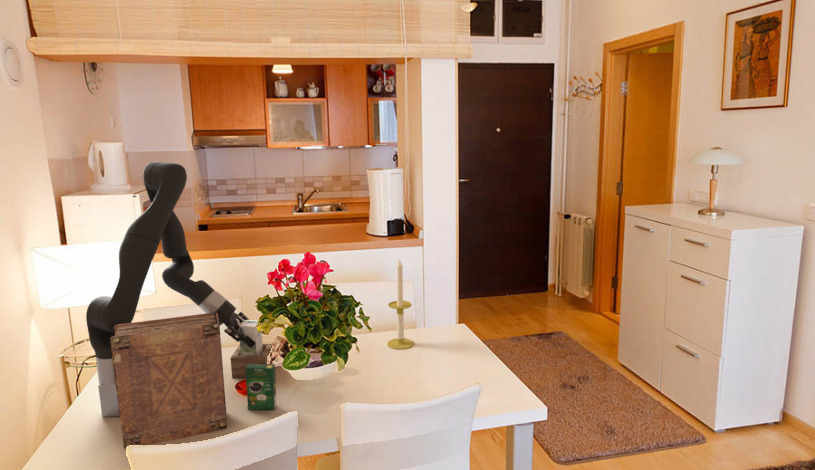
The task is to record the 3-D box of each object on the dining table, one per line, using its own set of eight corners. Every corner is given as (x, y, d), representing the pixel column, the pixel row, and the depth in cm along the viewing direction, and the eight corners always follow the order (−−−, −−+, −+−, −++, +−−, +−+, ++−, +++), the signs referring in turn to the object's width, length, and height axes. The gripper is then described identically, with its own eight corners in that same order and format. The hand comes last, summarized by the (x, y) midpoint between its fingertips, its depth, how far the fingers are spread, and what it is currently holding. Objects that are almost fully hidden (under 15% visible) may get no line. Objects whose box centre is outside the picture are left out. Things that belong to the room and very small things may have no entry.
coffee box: (278, 405, 160) (275, 363, 157) (275, 410, 157) (272, 367, 154) (250, 405, 160) (247, 363, 157) (247, 410, 157) (244, 367, 154)
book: (122, 449, 139) (108, 337, 133) (126, 431, 147) (113, 324, 141) (228, 428, 148) (219, 322, 142) (225, 412, 156) (217, 311, 150)
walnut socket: (266, 377, 177) (265, 357, 176) (232, 377, 177) (230, 357, 176) (273, 362, 188) (272, 343, 187) (241, 363, 188) (240, 344, 187)
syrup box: (264, 360, 185) (261, 319, 182) (257, 368, 179) (255, 325, 176) (247, 359, 185) (245, 318, 183) (240, 367, 180) (238, 325, 177)
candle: (402, 336, 210) (401, 254, 204) (419, 344, 203) (419, 259, 196) (381, 343, 204) (379, 258, 197) (398, 351, 196) (397, 263, 190)
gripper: (218, 306, 171) (258, 342, 173) (231, 293, 185) (268, 326, 187) (202, 323, 172) (242, 358, 174) (216, 308, 186) (254, 340, 188)
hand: (256, 341), depth 181 cm, fingers closed on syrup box, 6 cm apart
